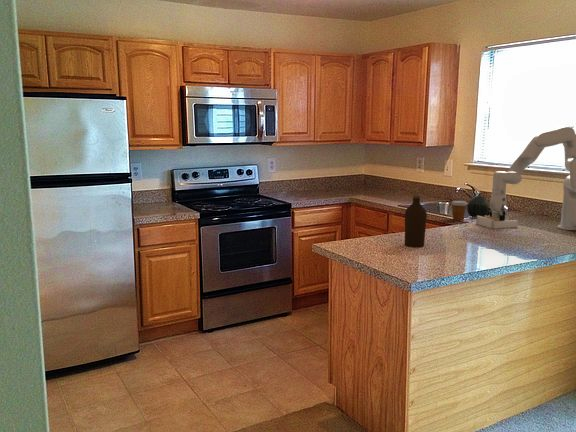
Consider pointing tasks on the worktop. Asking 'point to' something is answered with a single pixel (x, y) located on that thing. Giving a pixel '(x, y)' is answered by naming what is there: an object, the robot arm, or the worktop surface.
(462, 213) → the disposable coffee cup
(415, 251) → the worktop surface
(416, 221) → the olive oil
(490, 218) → the pusher plate
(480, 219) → the white open tray
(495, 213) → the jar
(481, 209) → the squash
